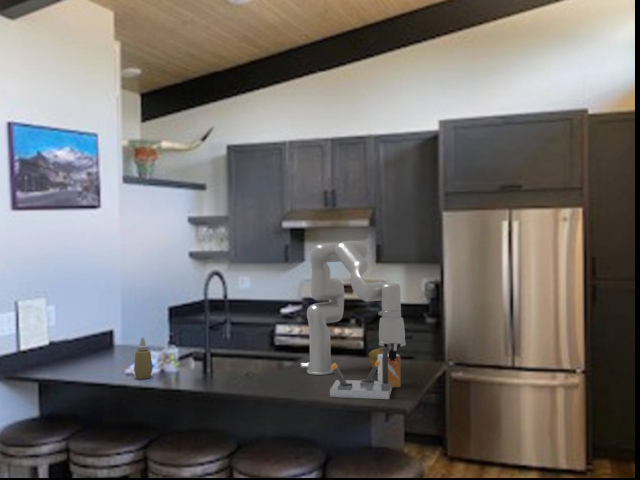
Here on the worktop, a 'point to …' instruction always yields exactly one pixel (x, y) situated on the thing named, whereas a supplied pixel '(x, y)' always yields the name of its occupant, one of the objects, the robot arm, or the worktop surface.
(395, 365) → the small box
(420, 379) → the worktop surface
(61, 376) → the worktop surface
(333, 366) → the orange tipped lever
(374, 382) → the panel
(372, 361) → the pot
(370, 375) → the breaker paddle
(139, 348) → the squeeze bottle
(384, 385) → the post
